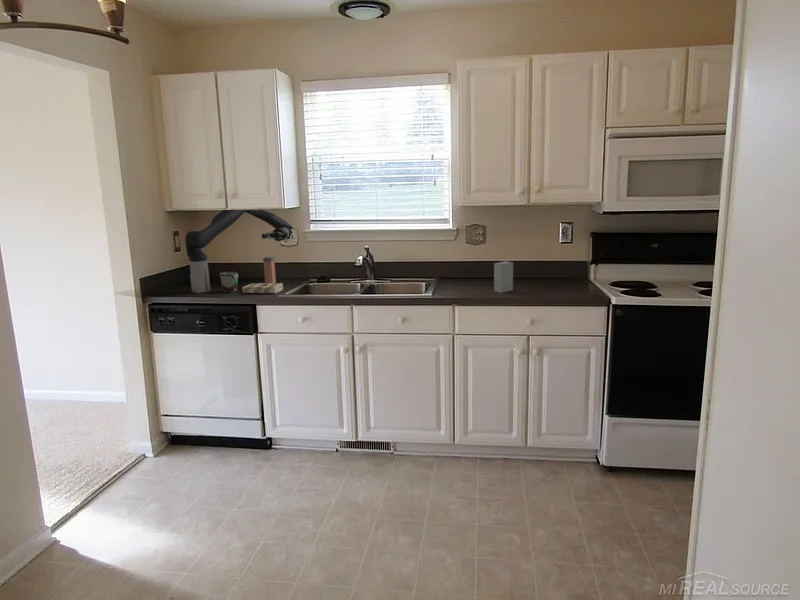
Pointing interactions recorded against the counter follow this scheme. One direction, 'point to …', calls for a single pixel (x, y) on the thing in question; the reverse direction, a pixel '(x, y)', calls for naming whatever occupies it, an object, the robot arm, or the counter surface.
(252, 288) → the beige rectangular block
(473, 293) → the counter surface
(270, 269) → the pink tall block
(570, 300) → the counter surface
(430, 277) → the counter surface
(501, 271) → the skincare box
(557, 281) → the counter surface
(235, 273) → the food container
